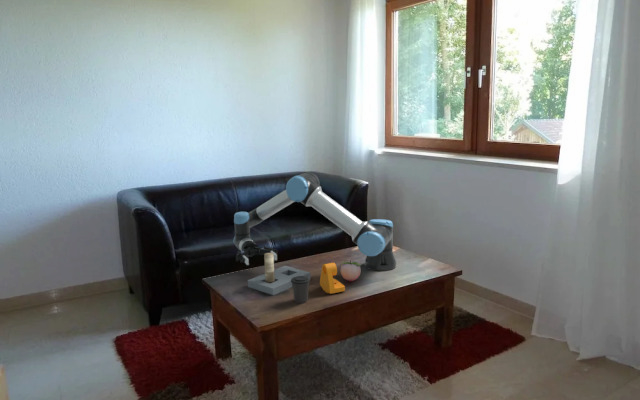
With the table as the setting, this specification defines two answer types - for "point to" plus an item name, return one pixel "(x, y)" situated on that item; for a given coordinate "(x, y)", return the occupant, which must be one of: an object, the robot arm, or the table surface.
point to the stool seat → (277, 280)
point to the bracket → (330, 279)
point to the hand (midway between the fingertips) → (262, 259)
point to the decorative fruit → (350, 270)
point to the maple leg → (269, 267)
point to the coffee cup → (300, 288)
